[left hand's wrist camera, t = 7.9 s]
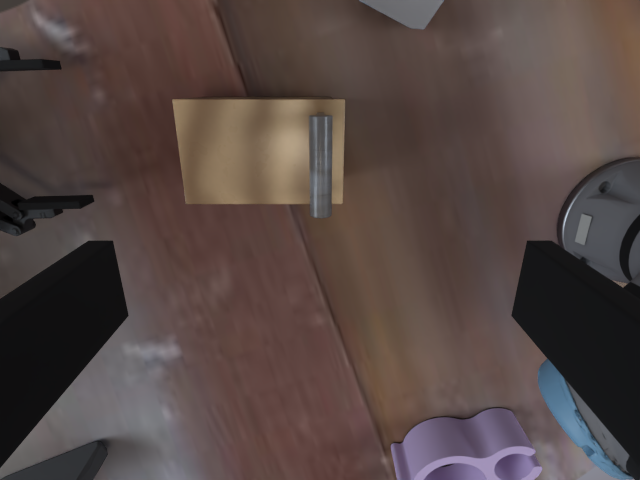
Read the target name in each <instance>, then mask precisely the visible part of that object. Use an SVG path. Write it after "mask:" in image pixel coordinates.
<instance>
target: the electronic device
mask: <svg viewBox="0 0 640 480" xmlns="http://www.w3.org/2000/svg"><path fill="white" fill-rule="evenodd" d="M359 1H361V2H362V3H364V4H366V5H368V6H370V7H372V8H374V9H375V10H377V11H379V12H381V13H383V14H385V15H387V16H388V17H390V18H392V19H394V20H396V21H398V22H400V23H401V24H403V25H405V26H407V27H409V28H411V29H425V27H426V26H427V24H428V23H429V21H430V20H431V19H432V17H433V16H434V14H435V13H436V11H437V10H438V8H439V7H440V6H441V4H442V3H443V1H444V0H359Z"/></svg>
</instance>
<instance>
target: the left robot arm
mask: <svg viewBox="0 0 640 480" xmlns="http://www.w3.org/2000/svg"><path fill="white" fill-rule="evenodd" d="M557 236H558V242H559V245H560V246H559V245H557V244H556V243H554V242H552V241H527V244H526V249H525V254H524V258H523V263H522V268H521V273H520V277H519V282H518V287H517V292H516V297H515V301H514V306H513V311H512V317H513V318H514V319H515V320H516V322H517V323H518V324H519V325H520V326H521V327H522V329H523V330H524V331H525V332H526V333H527V335H528V336H529V337H530V338H531V339H532V341H533V342H534V343H535V344H536V345H537V346H538V348H539V349H540V350H541V351H542V352H543V354H544V355H545V356H546V357H547V358H548V359H547V360H546V361H545V362H544V363H543V364H542V365H541V366H540V368H539V371H538V384H539V388H540V391H541V394H542V396H543V398H544V400H545V402H546V404H547V406H548V407H549V409H550V411H551V412H552V414H553V415H554V417H555V418H556V420H557V421H558V423H559V424H560V425H561V427H562V428H563V429H564V431H565V432H566V433H567V435H568V436H569V437H570V438H571V440H572V441H573V442H574V443H575V444H576V445H577V446H578V447H581V448H582V449H583V451H584V452H585V453H586V455H587V456H588V458H589V459H590V460H591V461H592V462H593V463H594V464H595V465H597V466H598V467H599V468H600V469H601V470H603V471H604V472H605V473H607V474H608V475H610V476H612V477H614V478H617V479H621V480H626V479H633V478H634V479H635V480H640V158H628V159H622V160H618V161H615V162H612V163H609V164H607V165H604V166H602V167H600V168H599V169H597V170H595V171H594V172H592V173H591V174H589V175H588V176H587V177H586V178H584V179H583V180H582V181H581V182H580V183H579V184H578V185H577V186H576V187H575V188H574V190H573V191H572V192H571V193H570V195H569V196H568V198H567V200H566V201H565V203H564V205H563V207H562V210H561V212H560V215H559V219H558V225H557ZM612 280H615V281H619V282H624V283H628V284H627V285H626V286H625V287H624V288H622V287H621V286H619V285H618V284H616V283H615V282H613V281H612ZM127 317H128V311H127V306H126V301H125V297H124V292H123V287H122V282H121V277H120V273H119V268H118V263H117V258H116V254H115V249H114V244H113V241H88V242H86V243H84V244H83V245H81V246H80V247H78V248H77V249H75V250H74V251H72V252H71V253H69V254H68V255H66V256H65V257H63V258H62V259H60V260H59V261H57V262H56V263H54V264H53V265H51V266H50V267H48V268H46V269H45V270H43V271H42V272H40V273H39V274H37V275H36V276H34V277H33V278H31V279H30V280H28V281H27V282H25V283H24V284H22V285H21V286H19V287H18V288H16V289H15V290H13V291H12V292H10V293H9V294H7V295H5V296H4V297H2V298H1V299H0V467H1V466H2V465H3V464H4V463H5V462H6V460H7V459H8V458H9V457H10V456H11V454H12V453H13V452H14V451H15V450H16V448H17V447H18V446H19V445H20V444H21V443H22V441H23V440H24V439H25V438H26V437H27V435H28V434H29V433H30V432H31V431H32V430H33V428H34V427H35V426H36V425H37V424H38V422H39V421H40V420H41V419H42V418H43V416H44V415H45V414H46V413H47V412H48V411H49V409H50V408H51V407H52V406H53V405H54V403H55V402H56V401H57V400H58V399H59V397H60V396H61V395H62V394H63V393H64V392H65V390H66V389H67V388H68V387H69V386H70V384H71V383H72V382H73V381H74V380H75V378H76V377H77V376H78V375H79V374H80V373H81V371H82V370H83V369H84V368H85V367H86V365H87V364H88V363H89V362H90V361H91V360H92V358H93V357H94V356H95V355H96V354H97V352H98V351H99V350H100V349H101V348H102V346H103V345H104V344H105V343H106V342H107V341H108V339H109V338H110V337H111V336H112V335H113V333H114V332H115V331H116V330H117V329H118V327H119V326H120V325H121V324H122V323H123V322H124V320H125V319H126V318H127Z"/></svg>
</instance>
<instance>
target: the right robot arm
mask: <svg viewBox="0 0 640 480" xmlns="http://www.w3.org/2000/svg"><path fill="white" fill-rule="evenodd" d="M59 69H61V65H60V61H53V60H44V59H32V60H20V56H19V53H18V51H17V50H14V49H11V48H3V47H0V71H25V70H59ZM92 202H94V198H93V195H77V196H39V197H33V198H30V199H27V200H26V199H24V198H23V197H21V196H20V195H18V194H17V193H15V192H13V191H12V190H10V189H9V188H7V187H6V186H4V185H2V184H1V183H0V230H1V231H4V232H6V233H9V234H11V235H14V236H19V235H21V234H23V233H25V232H27V231H29V230H31V229H33V228H35V226H36V223H35V222H34V220H33V218H52V217H54V216H56V215H59V214H61V213H63V210H62V209H81V208H83V207H85V206H87V205H89V204H90V203H92Z"/></svg>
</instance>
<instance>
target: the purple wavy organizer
mask: <svg viewBox="0 0 640 480" xmlns="http://www.w3.org/2000/svg"><path fill="white" fill-rule="evenodd" d="M391 451H392V456H393V461H394V466H395V471H396V476H397V480H534V479H535V478H536V477H537V476H538V475H539V474H540V473H541V471H542V467H541V465H540V464H539V462H538V460H537V458H536V457H535V455H534V454H535V452H536V451H535V449H534V448H533V446H532V444H531V443H530V441H529V439H528V438H527V436H526V434H525V432H524V431H523V429H522V427H521V426H520V424H519V422H518V421H517V419H516V417H515V416H514V414H513V412H512V411H510V410H507V409H503V408H493V409H488V410H485V411H483V412H481V413H479V414H477V415H476V416H474V417H472V418H470V419H464V420H461V419H456V418H449V417H440V418H434V419H430V420H427V421H424V422H422V423H420V424H418V425H417V426H415V427H414V428H413V429H411V430H410V431H409V433H408V434H407V435H406V437H405V439H404V441H403V443H401V444H398V443H393V444H392V445H391ZM452 463H455V464H453V465H450V466H446V467H440V466H443V465H447V464H452ZM438 467H440V468H438Z"/></svg>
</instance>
